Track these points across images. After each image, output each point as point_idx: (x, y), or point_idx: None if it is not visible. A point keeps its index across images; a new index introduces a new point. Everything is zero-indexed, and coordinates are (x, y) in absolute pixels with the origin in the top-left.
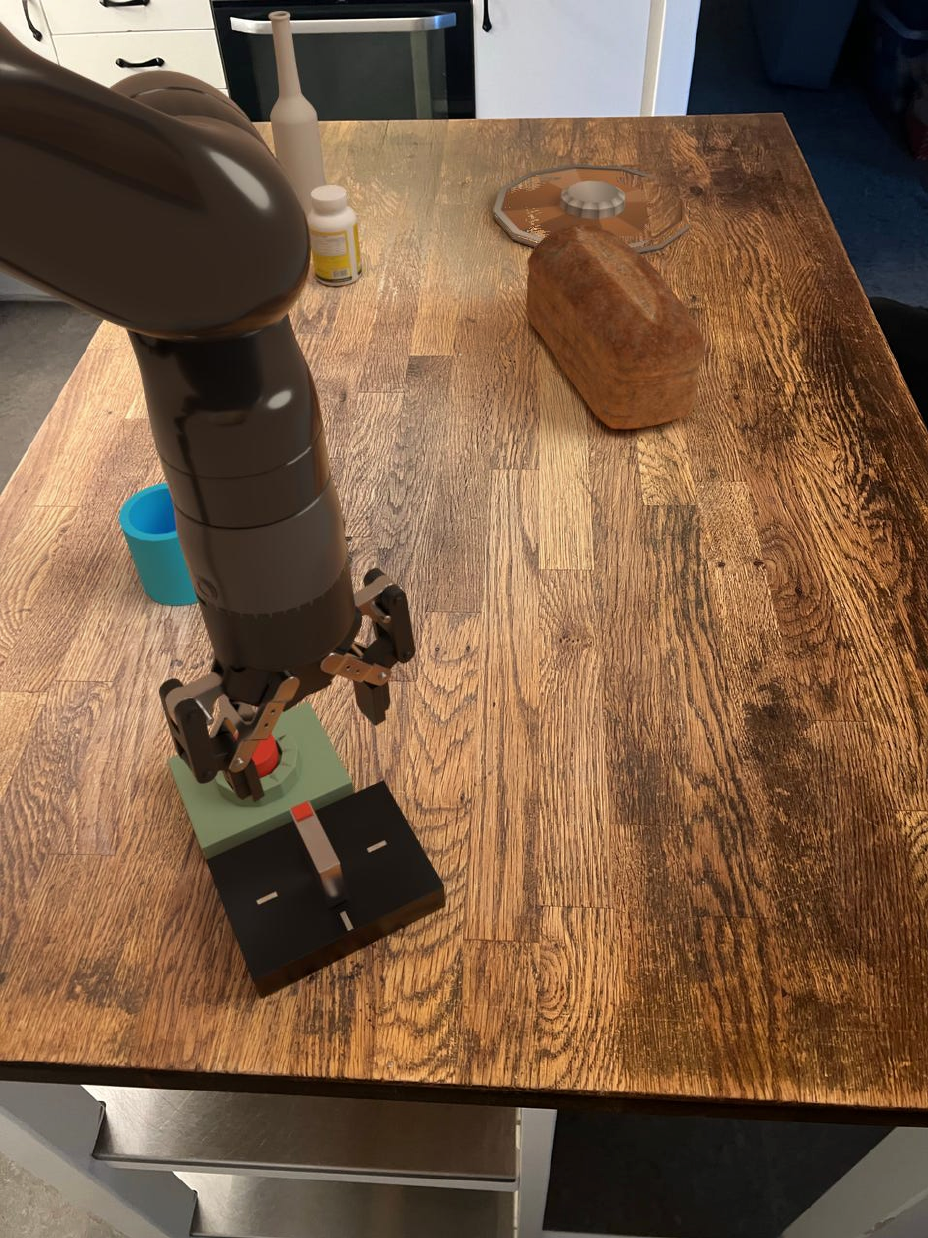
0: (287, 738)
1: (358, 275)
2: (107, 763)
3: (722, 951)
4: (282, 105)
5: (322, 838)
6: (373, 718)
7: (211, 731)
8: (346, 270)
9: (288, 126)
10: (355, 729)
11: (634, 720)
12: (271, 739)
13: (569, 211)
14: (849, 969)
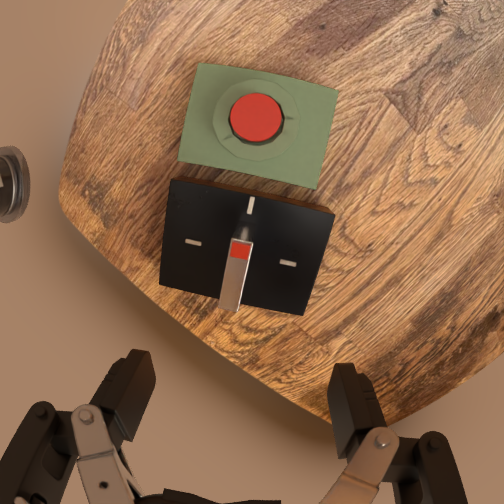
0: (294, 122)
1: None
2: (170, 34)
3: (374, 389)
4: None
5: (239, 284)
6: (330, 399)
7: (73, 427)
8: None
9: None
10: (354, 132)
11: (470, 276)
12: (277, 123)
13: None
14: (394, 410)
